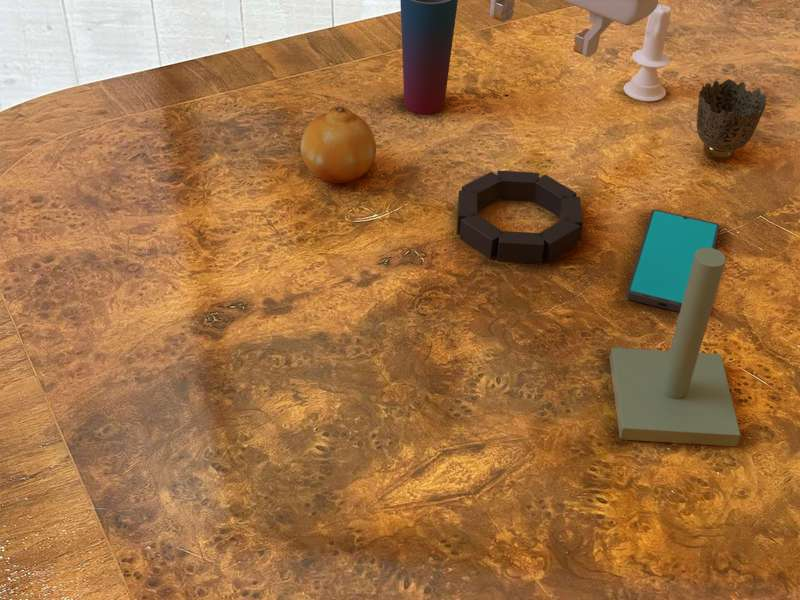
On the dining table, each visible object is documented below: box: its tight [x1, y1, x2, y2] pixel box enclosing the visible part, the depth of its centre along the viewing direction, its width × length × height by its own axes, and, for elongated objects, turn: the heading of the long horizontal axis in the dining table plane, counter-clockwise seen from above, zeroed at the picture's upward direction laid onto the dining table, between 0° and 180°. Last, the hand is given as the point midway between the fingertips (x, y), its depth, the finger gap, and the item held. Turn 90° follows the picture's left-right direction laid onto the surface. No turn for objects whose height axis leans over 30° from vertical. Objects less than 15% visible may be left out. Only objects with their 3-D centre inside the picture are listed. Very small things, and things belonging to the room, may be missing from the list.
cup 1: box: [399, 0, 459, 115], centre depth 128 cm, size 7×7×15 cm
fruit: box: [300, 106, 377, 184], centre depth 119 cm, size 8×8×8 cm
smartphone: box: [625, 208, 721, 313], centre depth 110 cm, size 7×1×15 cm
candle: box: [623, 3, 672, 102], centre depth 133 cm, size 5×5×12 cm
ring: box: [456, 170, 584, 265], centre depth 114 cm, size 13×13×2 cm
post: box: [609, 248, 741, 447], centre depth 90 cm, size 10×10×16 cm
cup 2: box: [696, 78, 768, 162], centre depth 123 cm, size 8×7×8 cm
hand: (542, 35), depth 97 cm, fingers open, 8 cm apart
